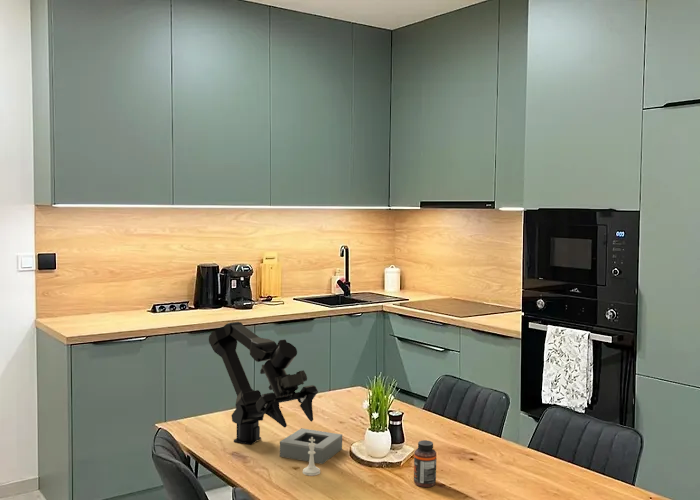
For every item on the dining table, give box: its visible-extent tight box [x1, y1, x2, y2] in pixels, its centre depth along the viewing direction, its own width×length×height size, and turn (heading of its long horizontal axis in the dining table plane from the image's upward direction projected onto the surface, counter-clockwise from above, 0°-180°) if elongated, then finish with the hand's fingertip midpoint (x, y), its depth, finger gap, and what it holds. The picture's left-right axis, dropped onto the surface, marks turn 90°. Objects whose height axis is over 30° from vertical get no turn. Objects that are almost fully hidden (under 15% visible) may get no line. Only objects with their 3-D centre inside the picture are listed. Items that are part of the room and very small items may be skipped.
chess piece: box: [302, 437, 321, 477], centre depth 193 cm, size 5×5×10 cm
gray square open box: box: [279, 428, 343, 465], centre depth 209 cm, size 14×14×4 cm
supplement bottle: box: [413, 439, 438, 488], centre depth 187 cm, size 6×6×11 cm
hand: (299, 423), depth 198 cm, fingers open, 9 cm apart
